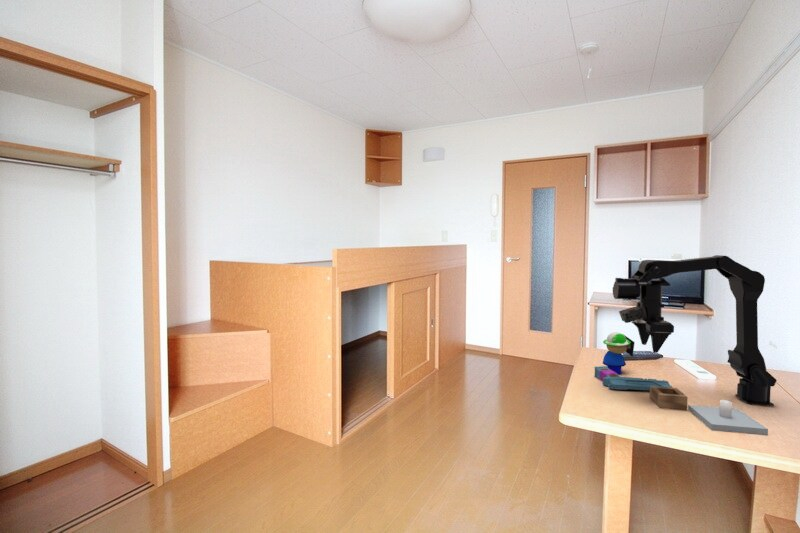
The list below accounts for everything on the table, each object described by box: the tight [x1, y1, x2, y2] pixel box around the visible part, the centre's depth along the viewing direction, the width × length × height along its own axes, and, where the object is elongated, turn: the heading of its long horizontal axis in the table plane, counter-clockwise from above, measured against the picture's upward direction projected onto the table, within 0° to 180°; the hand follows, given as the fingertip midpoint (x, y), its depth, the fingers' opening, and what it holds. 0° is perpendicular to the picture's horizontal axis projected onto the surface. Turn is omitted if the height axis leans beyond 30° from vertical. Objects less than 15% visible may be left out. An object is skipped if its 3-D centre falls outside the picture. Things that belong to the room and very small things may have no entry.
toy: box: [602, 331, 635, 376], centre depth 141 cm, size 9×9×15 cm
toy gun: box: [594, 365, 674, 392], centre depth 128 cm, size 4×20×15 cm
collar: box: [649, 386, 689, 411], centre depth 113 cm, size 7×7×4 cm
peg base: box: [687, 399, 769, 436], centre depth 101 cm, size 12×12×6 cm
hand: (649, 348), depth 120 cm, fingers open, 9 cm apart
